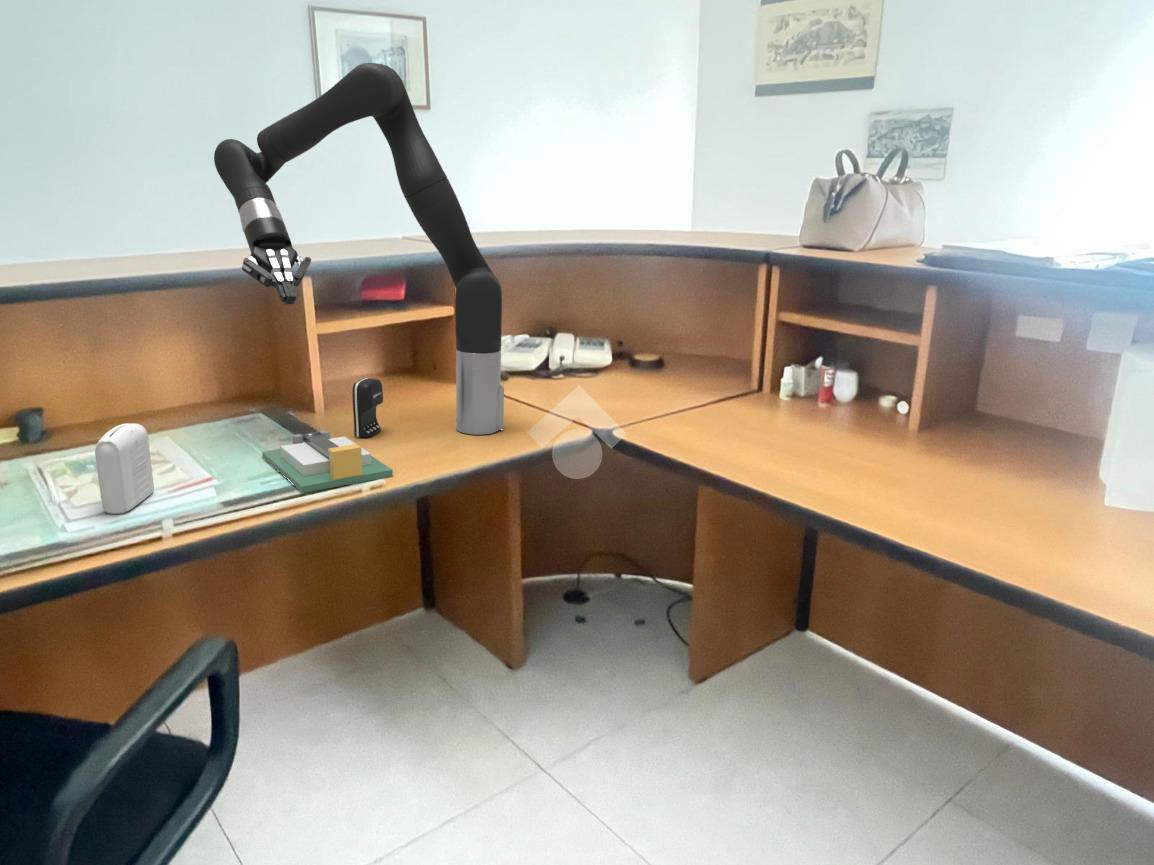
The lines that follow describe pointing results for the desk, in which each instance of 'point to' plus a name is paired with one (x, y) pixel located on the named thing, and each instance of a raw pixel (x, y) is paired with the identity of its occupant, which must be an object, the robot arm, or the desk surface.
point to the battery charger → (366, 406)
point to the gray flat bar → (319, 442)
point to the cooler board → (324, 477)
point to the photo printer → (124, 468)
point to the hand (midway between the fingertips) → (290, 301)
